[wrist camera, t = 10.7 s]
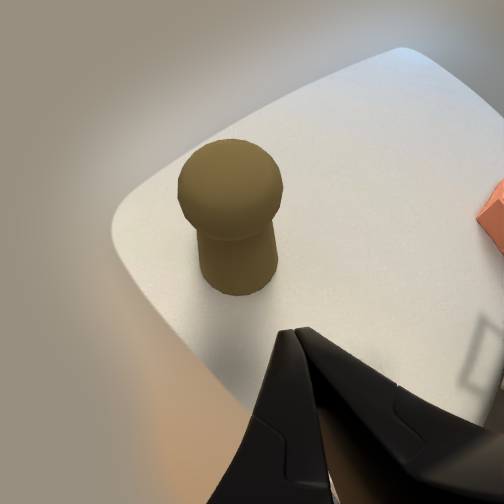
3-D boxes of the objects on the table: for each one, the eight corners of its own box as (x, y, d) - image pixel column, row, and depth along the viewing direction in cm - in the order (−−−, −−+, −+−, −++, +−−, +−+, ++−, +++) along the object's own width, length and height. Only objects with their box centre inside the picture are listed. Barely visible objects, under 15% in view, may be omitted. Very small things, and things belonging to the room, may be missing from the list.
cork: (218, 213, 25) (197, 112, 15) (288, 236, 24) (309, 139, 14) (186, 279, 23) (137, 202, 13) (262, 307, 22) (269, 246, 12)
